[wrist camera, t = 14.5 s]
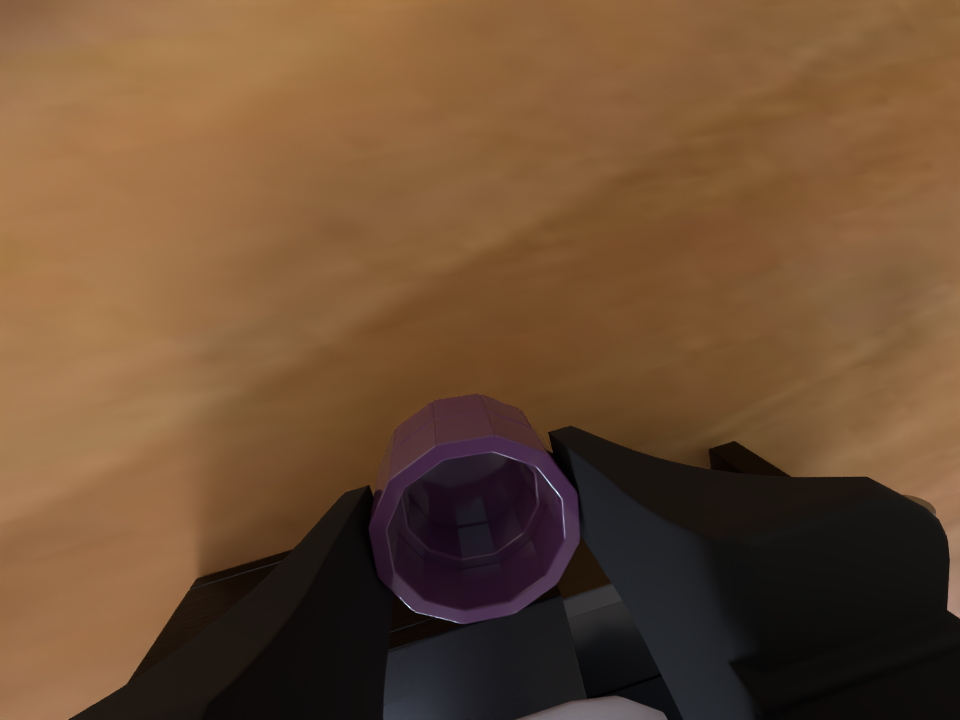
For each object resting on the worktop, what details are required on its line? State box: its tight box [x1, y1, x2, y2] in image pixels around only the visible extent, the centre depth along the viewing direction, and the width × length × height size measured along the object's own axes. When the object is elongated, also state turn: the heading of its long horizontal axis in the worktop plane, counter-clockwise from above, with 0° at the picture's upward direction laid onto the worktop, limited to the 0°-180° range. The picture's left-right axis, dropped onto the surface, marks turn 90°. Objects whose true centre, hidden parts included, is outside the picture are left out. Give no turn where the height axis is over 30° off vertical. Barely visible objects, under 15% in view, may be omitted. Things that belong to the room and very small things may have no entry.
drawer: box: [557, 441, 936, 720], centre depth 17 cm, size 17×11×5 cm, turn 104°
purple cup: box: [368, 394, 581, 624], centre depth 11 cm, size 5×5×3 cm
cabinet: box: [127, 550, 587, 720], centre depth 17 cm, size 13×12×6 cm
